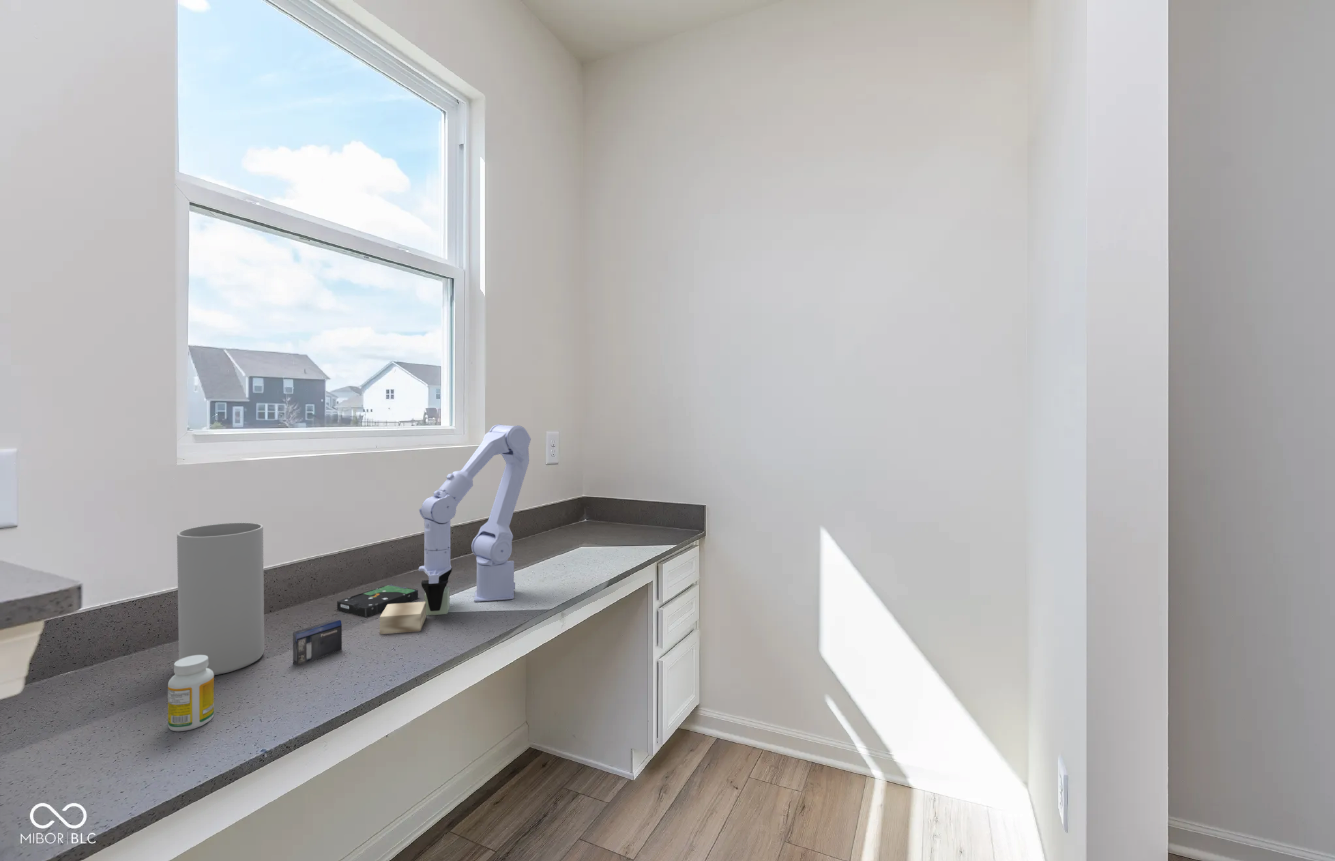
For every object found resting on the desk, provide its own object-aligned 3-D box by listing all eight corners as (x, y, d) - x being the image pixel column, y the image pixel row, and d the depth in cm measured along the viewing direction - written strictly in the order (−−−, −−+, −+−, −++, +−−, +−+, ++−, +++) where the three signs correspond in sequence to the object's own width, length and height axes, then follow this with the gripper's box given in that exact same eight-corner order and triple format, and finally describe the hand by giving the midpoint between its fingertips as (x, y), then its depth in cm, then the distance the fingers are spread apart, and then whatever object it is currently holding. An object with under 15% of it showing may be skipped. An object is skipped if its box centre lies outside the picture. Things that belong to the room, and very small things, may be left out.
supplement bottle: (172, 736, 83) (171, 671, 82) (164, 723, 86) (163, 660, 86) (218, 721, 87) (217, 659, 87) (209, 709, 90) (208, 649, 90)
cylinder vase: (162, 680, 99) (159, 538, 98) (205, 650, 111) (203, 523, 110) (243, 675, 102) (241, 536, 101) (276, 646, 114) (275, 522, 113)
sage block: (449, 606, 138) (449, 586, 138) (447, 614, 133) (447, 593, 133) (427, 608, 137) (427, 587, 137) (424, 615, 132) (424, 594, 132)
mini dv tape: (297, 665, 106) (297, 633, 106) (293, 663, 107) (292, 632, 106) (341, 650, 113) (341, 620, 113) (337, 648, 114) (337, 618, 113)
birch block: (425, 618, 131) (425, 601, 131) (420, 632, 123) (420, 613, 123) (387, 621, 129) (387, 604, 128) (379, 635, 121) (379, 616, 121)
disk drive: (366, 620, 130) (419, 599, 144) (366, 608, 130) (419, 588, 143) (336, 612, 134) (389, 593, 148) (335, 600, 134) (389, 582, 148)
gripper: (423, 541, 140) (423, 595, 141) (414, 556, 126) (414, 616, 127) (454, 540, 142) (453, 593, 143) (448, 554, 128) (447, 614, 129)
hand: (437, 604), depth 135 cm, fingers open, 7 cm apart
